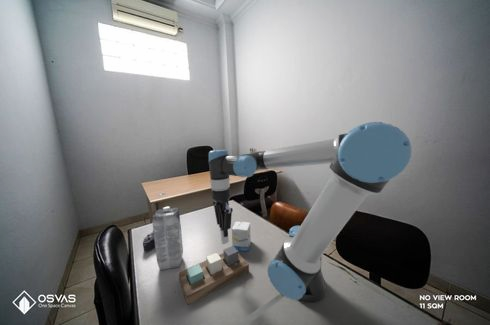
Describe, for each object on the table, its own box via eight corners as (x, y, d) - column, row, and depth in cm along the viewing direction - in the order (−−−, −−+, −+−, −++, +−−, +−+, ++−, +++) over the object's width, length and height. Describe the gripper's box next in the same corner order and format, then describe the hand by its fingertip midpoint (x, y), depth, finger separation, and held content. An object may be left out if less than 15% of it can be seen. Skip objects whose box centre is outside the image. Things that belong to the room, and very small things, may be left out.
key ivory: (222, 269, 72) (221, 258, 71) (211, 274, 69) (210, 263, 68) (217, 262, 76) (216, 252, 75) (206, 267, 73) (206, 256, 72)
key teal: (203, 282, 68) (202, 271, 67) (191, 288, 65) (190, 277, 64) (199, 274, 72) (198, 263, 71) (188, 280, 69) (187, 269, 68)
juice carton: (181, 268, 78) (176, 211, 74) (156, 272, 76) (149, 214, 72) (184, 255, 86) (179, 203, 82) (162, 258, 84) (155, 206, 80)
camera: (153, 256, 86) (151, 238, 85) (141, 253, 89) (139, 235, 88) (176, 238, 101) (174, 222, 99) (165, 236, 104) (163, 220, 102)
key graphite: (238, 261, 76) (238, 251, 75) (228, 266, 73) (228, 255, 73) (233, 255, 80) (232, 245, 79) (224, 259, 77) (223, 249, 77)
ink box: (248, 251, 87) (247, 230, 86) (232, 250, 89) (231, 229, 87) (251, 241, 96) (250, 221, 94) (236, 240, 97) (235, 220, 96)
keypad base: (248, 271, 74) (248, 264, 74) (187, 304, 61) (186, 296, 60) (234, 254, 85) (233, 248, 85) (179, 279, 71) (178, 272, 71)
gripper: (237, 189, 67) (241, 246, 70) (221, 183, 77) (225, 233, 80) (219, 194, 62) (224, 254, 65) (205, 187, 73) (210, 239, 76)
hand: (225, 242), depth 73 cm, fingers closed
